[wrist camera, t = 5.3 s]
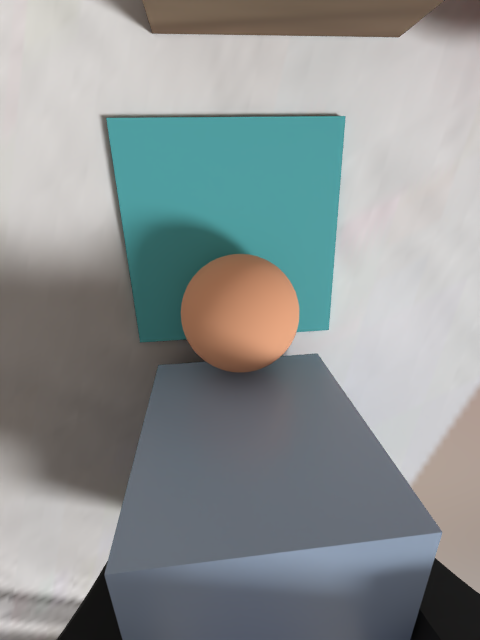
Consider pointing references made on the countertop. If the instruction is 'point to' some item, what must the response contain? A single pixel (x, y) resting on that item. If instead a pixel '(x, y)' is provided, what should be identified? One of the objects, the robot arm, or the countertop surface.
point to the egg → (240, 313)
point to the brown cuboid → (287, 17)
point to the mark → (226, 206)
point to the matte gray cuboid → (265, 514)
